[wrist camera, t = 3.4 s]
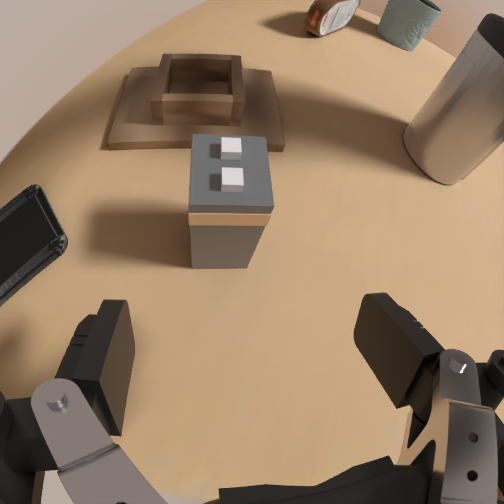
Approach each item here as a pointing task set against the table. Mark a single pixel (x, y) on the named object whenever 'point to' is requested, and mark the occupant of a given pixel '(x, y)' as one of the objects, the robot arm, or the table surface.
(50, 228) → the phone
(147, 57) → the table surface
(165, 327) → the table surface
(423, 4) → the teal embossed cup
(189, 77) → the dock
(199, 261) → the cell
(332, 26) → the tin
